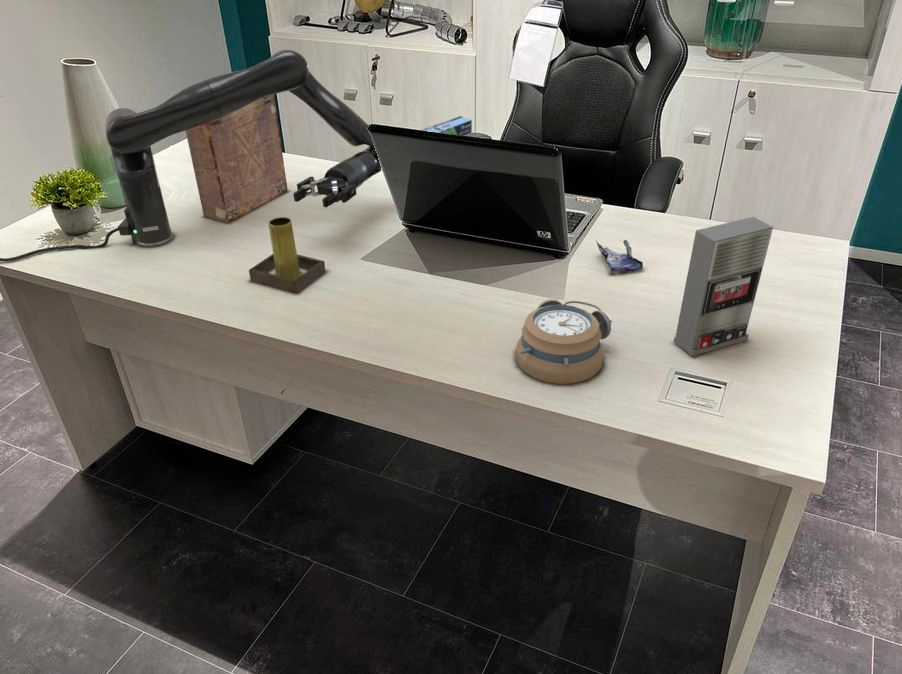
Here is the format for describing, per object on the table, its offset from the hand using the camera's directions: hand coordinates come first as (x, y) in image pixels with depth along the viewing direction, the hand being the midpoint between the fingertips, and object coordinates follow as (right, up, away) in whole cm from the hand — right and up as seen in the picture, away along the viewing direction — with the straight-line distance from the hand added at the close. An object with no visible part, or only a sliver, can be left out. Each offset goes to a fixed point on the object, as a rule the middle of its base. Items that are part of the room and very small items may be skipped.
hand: (309, 200), depth 182 cm
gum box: (+32, +5, +31) cm, 45 cm away
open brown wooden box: (-5, -18, +1) cm, 19 cm away
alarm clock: (+56, -37, -28) cm, 73 cm away
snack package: (+74, -15, +2) cm, 76 cm away
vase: (-5, -18, +1) cm, 19 cm away
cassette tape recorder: (+86, -35, -26) cm, 97 cm away
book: (-24, +7, +37) cm, 45 cm away
